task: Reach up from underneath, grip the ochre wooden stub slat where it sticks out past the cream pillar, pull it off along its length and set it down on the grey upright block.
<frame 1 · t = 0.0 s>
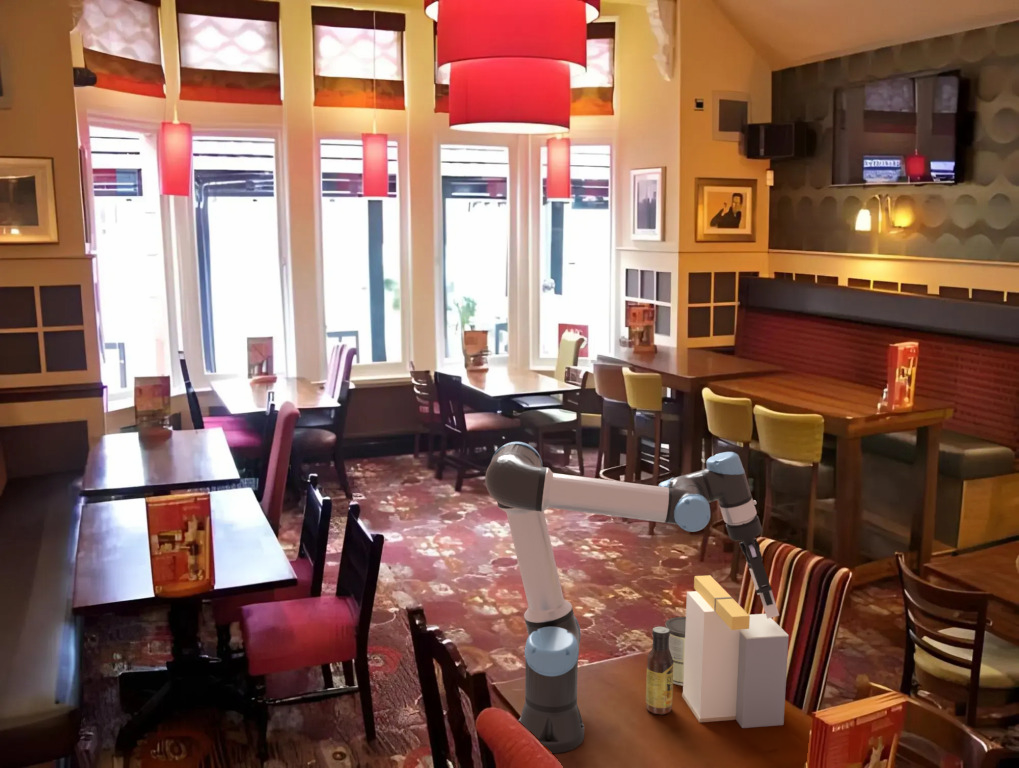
hand: (767, 604, 212), 28 cm above the table, tool tilted 20°, fingers open, 13 cm apart
sauce bottle: (658, 709, 220), on the table
cream pillar: (709, 707, 220), on the table
grey upright block: (752, 713, 218), on the table
ochre stub: (720, 607, 212), point 27 cm above the table, touching cream pillar
coffee can: (683, 677, 236), on the table
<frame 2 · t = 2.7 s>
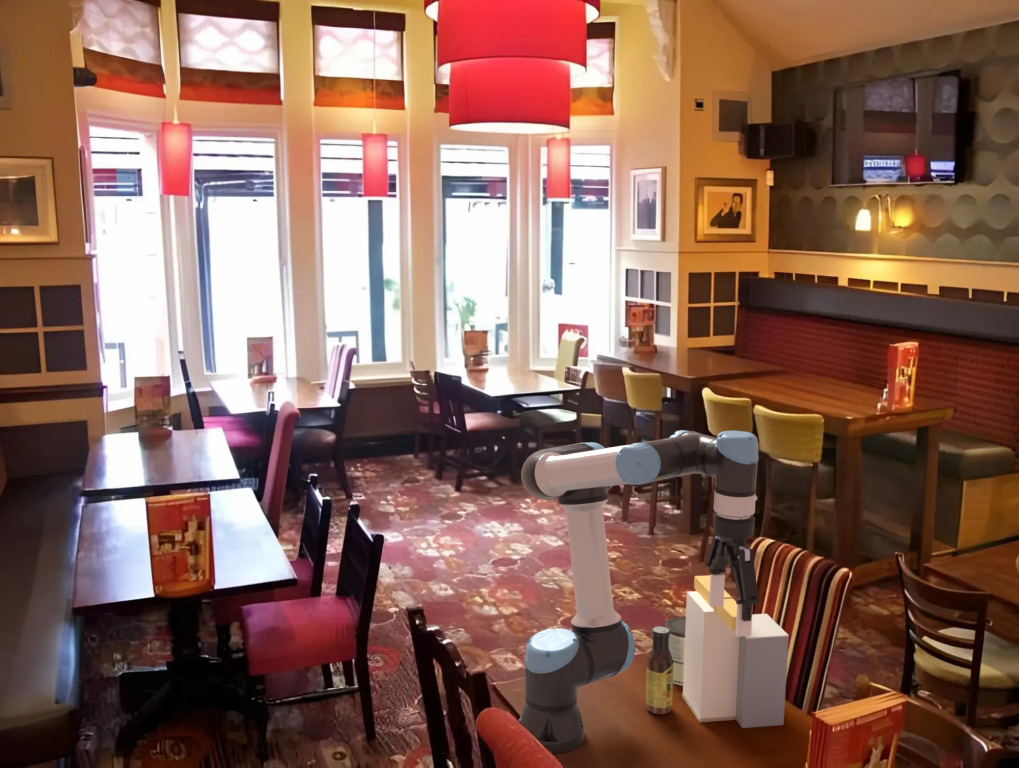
hand: (729, 620, 177), 39 cm above the table, tool pointing down, fingers open, 13 cm apart
nothing on the table moved.
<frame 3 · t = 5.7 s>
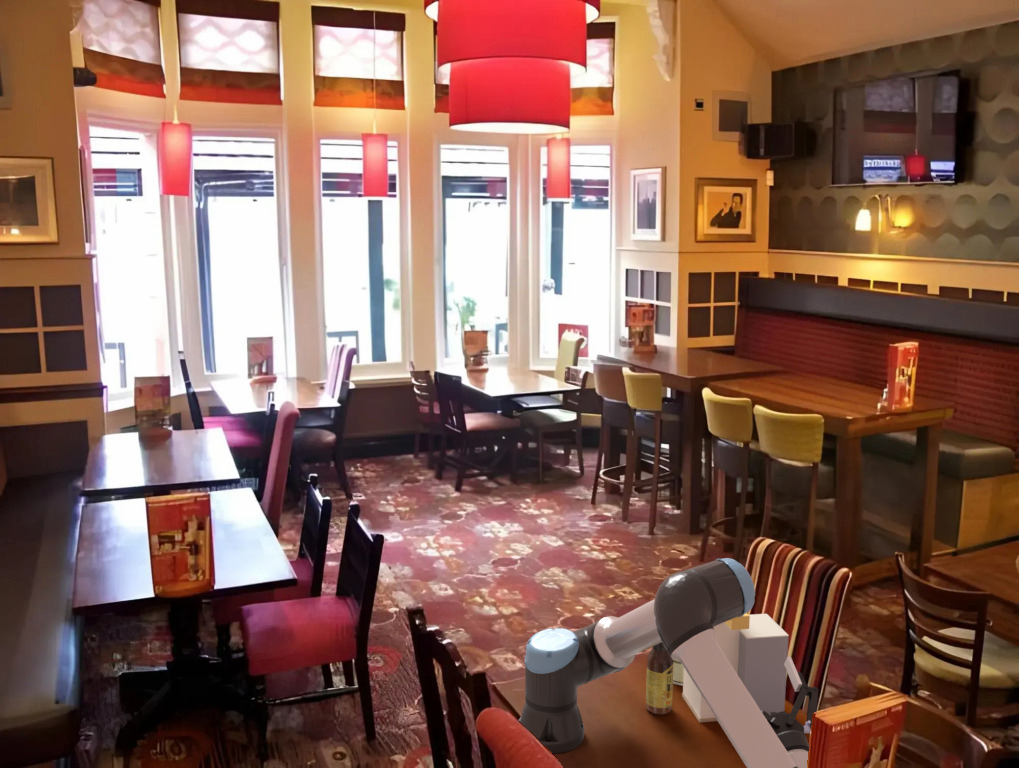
hand: (756, 662, 192), 24 cm above the table, tool pointing upward, fingers open, 13 cm apart
nothing on the table moved.
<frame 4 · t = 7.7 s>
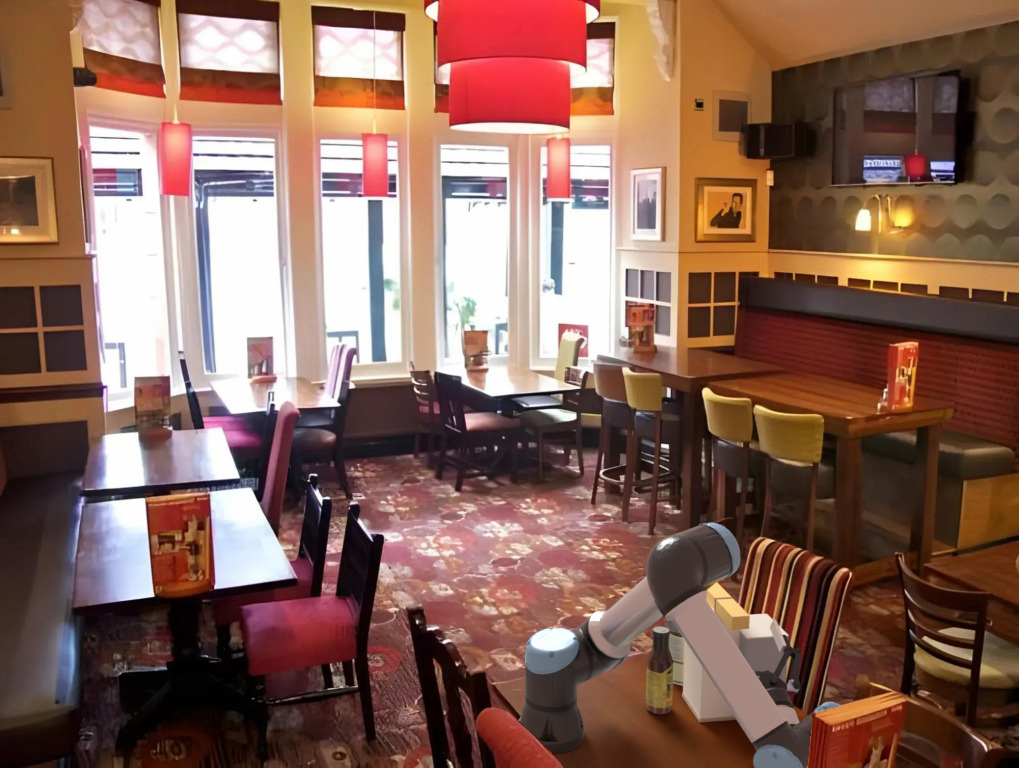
hand: (743, 625, 201), 28 cm above the table, tool pointing upward, fingers open, 13 cm apart
nothing on the table moved.
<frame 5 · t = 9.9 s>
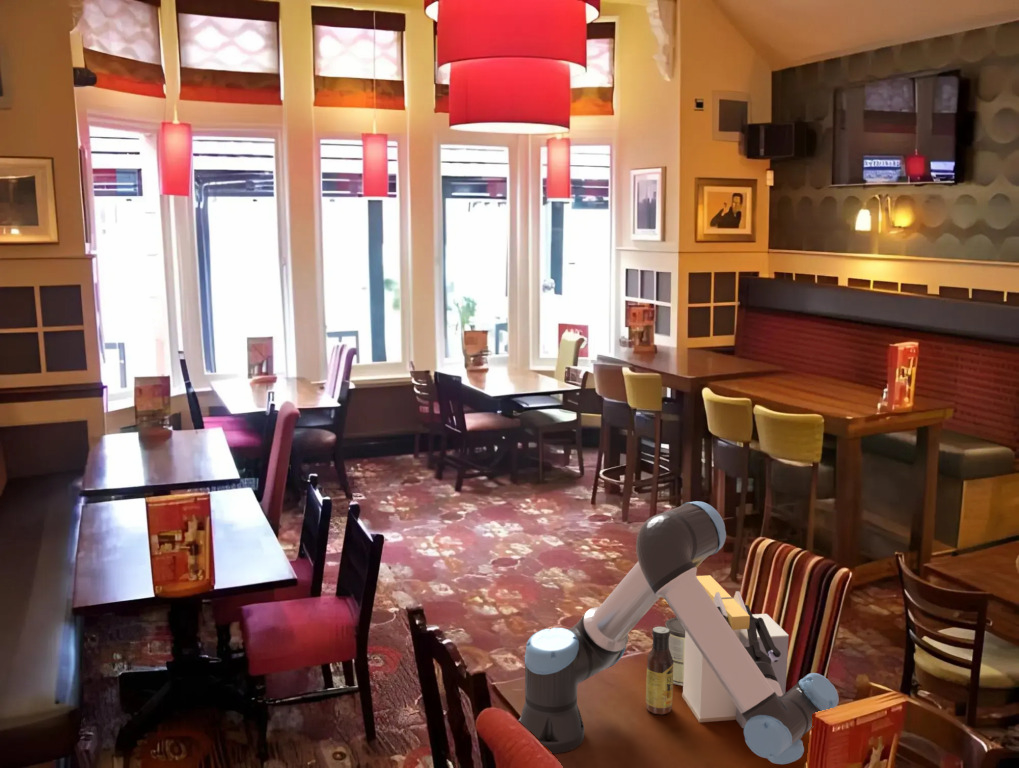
hand: (726, 595, 208), 31 cm above the table, tool pointing upward, fingers closed on ochre stub, 4 cm apart
ochre stub: (720, 607, 212), point 27 cm above the table, touching cream pillar, gripper
everything else where it was.
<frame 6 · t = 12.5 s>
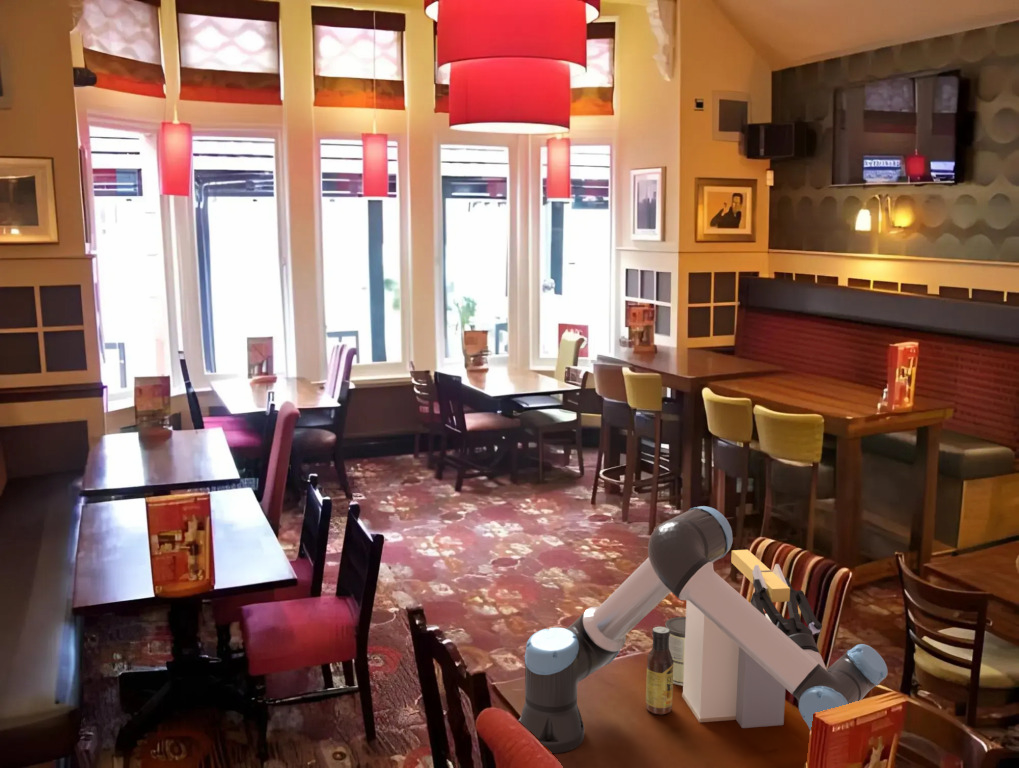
hand: (765, 568, 205), 38 cm above the table, tool pointing upward, fingers closed on ochre stub, 4 cm apart
ochre stub: (758, 580, 209), point 34 cm above the table, touching gripper
everything else where it was.
when the fingers open (28 cm above the table, at t = 15.0 s): ochre stub drops 2 cm, resting on grey upright block.
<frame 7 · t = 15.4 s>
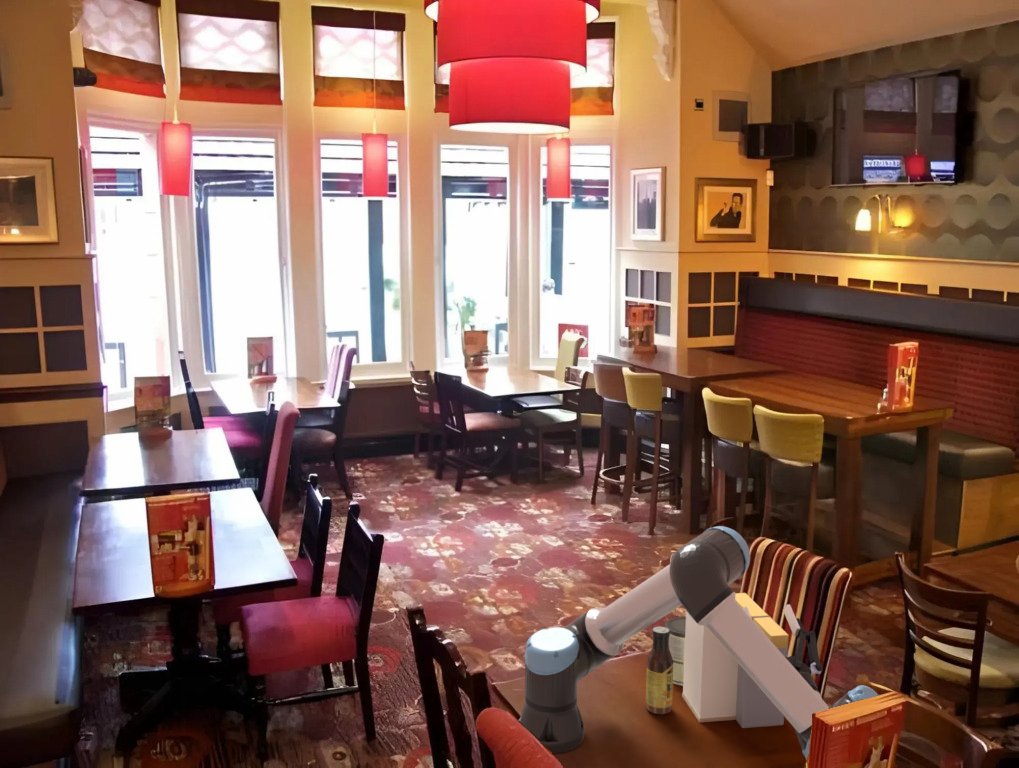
hand: (765, 609, 209), 28 cm above the table, tool pointing upward, fingers open, 9 cm apart
ochre stub: (756, 625, 214), point 22 cm above the table, touching grey upright block
everything else where it was.
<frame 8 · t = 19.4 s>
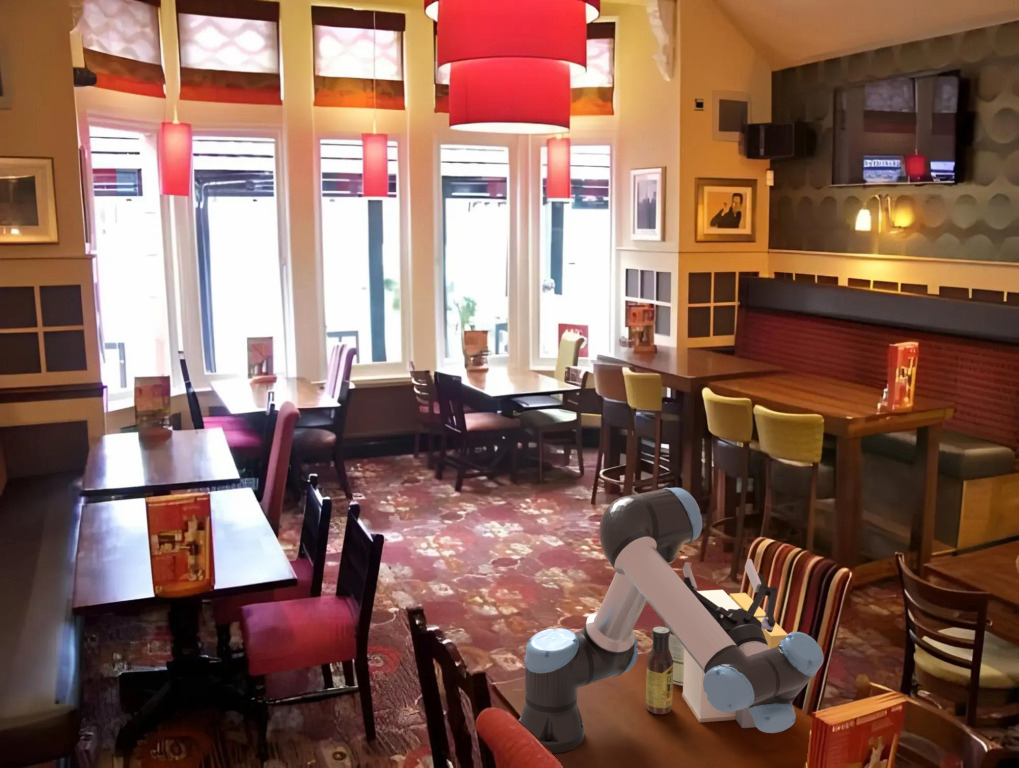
hand: (716, 564, 193), 44 cm above the table, tool pointing upward, fingers open, 13 cm apart
nothing on the table moved.
at the end: ochre stub inside the target area on the grey upright block (0.1 cm from its centre), point 22.0 cm above the grey upright block's base; ochre stub touching grey upright block; the gripper is holding nothing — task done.
